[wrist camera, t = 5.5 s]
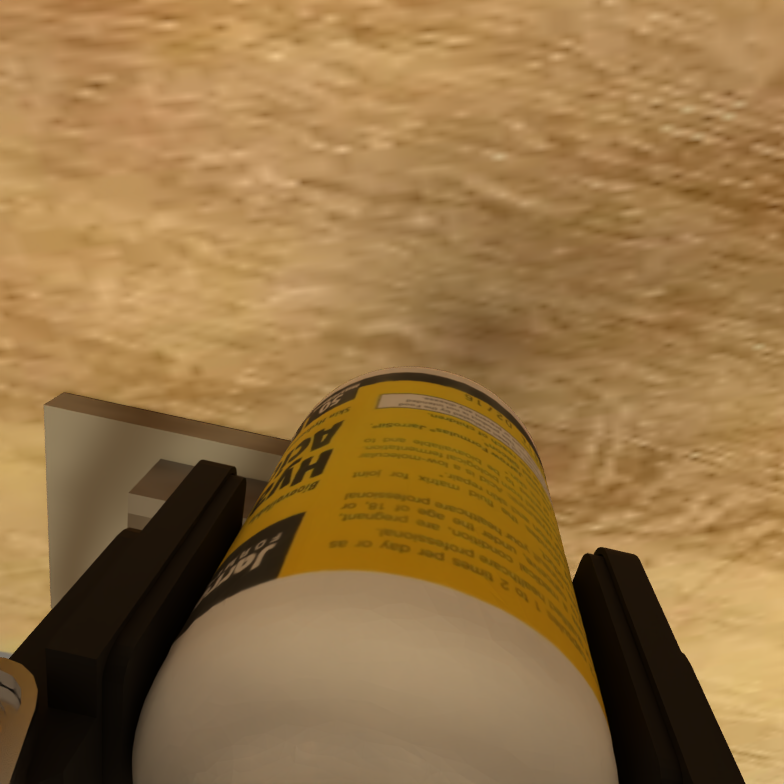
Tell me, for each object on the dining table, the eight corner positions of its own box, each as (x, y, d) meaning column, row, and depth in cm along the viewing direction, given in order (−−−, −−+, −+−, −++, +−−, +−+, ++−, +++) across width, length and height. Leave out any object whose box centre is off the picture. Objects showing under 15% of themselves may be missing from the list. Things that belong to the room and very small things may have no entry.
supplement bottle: (337, 317, 12) (-48, 871, 3) (586, 419, 12) (983, 1223, 3) (260, 525, 14) (-107, 1236, 5) (474, 608, 14) (510, 1423, 5)
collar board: (474, 480, 28) (479, 537, 24) (421, 665, 33) (417, 740, 28) (63, 392, 28) (-3, 433, 24) (67, 589, 33) (12, 651, 29)
